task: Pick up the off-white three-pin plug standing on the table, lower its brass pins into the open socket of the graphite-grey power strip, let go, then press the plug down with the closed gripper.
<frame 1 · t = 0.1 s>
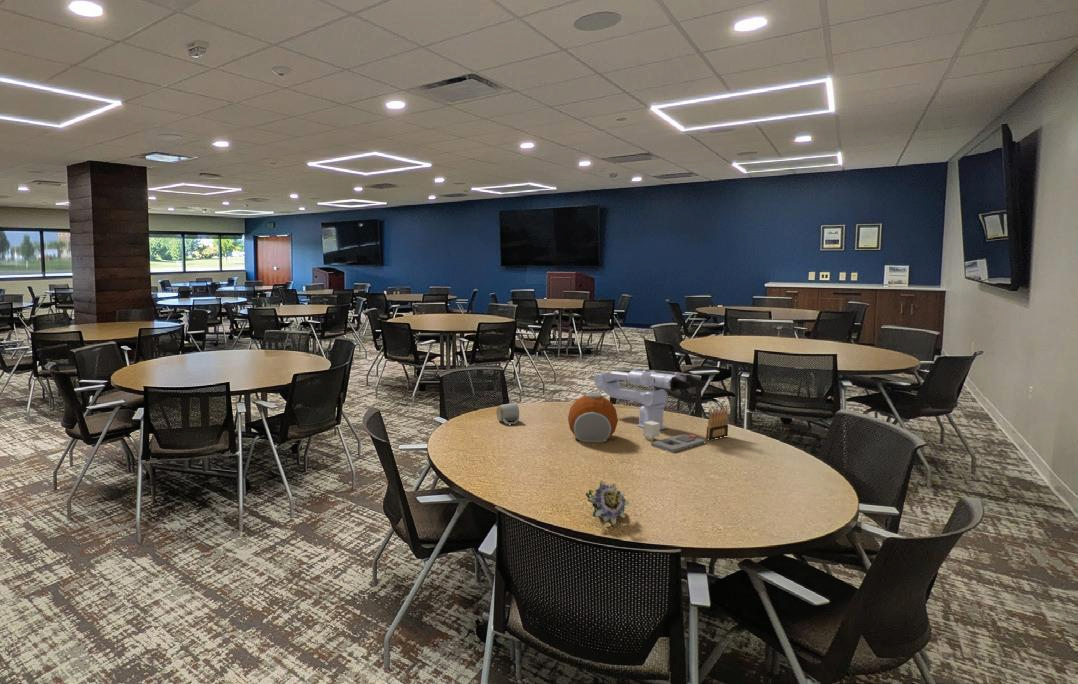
hand: (695, 384, 221), 22 cm above the table, tool horizontal, fingers open, 7 cm apart
socket strip: (678, 444, 217), on the table
alarm clock: (591, 438, 222), on the table
ceramic mug: (509, 422, 241), on the table
ammunition clip: (716, 438, 226), on the table
passion flower: (605, 518, 151), on the table
plug: (650, 439, 222), on the table
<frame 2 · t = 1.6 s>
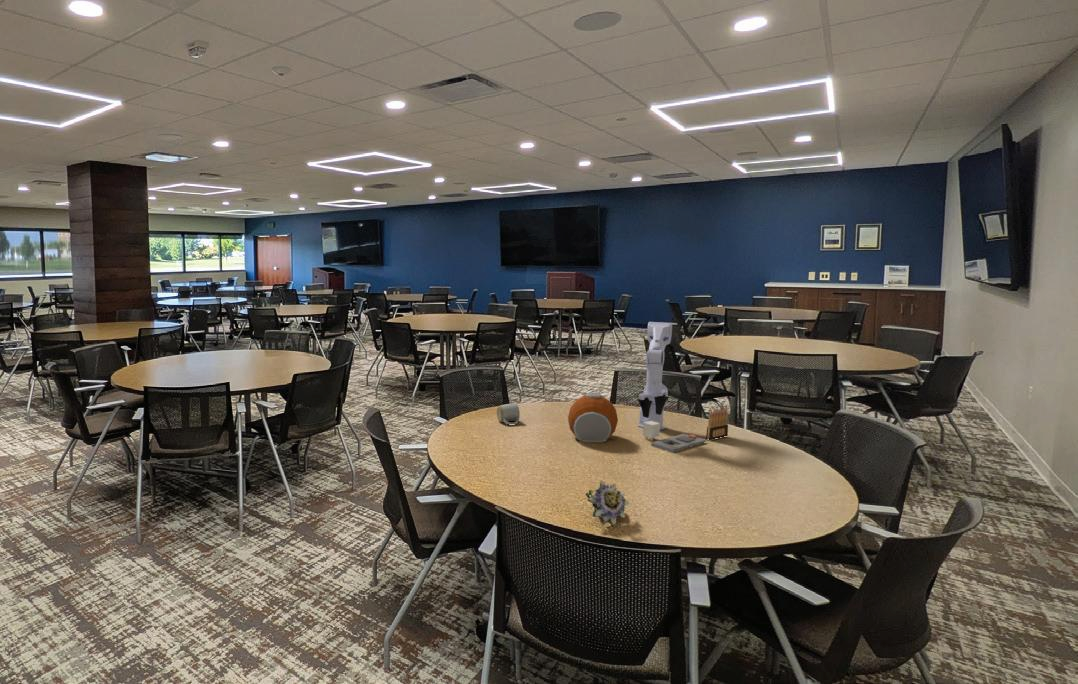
hand: (652, 415, 220), 9 cm above the table, tool pointing down, fingers open, 7 cm apart
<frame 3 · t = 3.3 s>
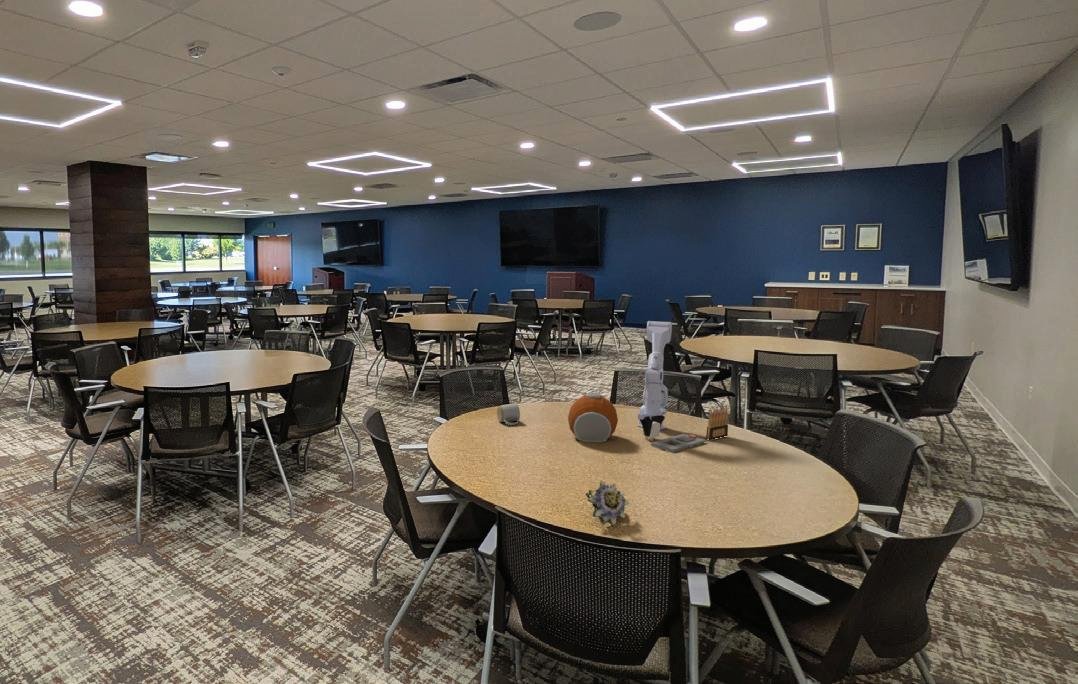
hand: (651, 434, 221), 2 cm above the table, tool pointing down, fingers closed on plug, 4 cm apart
plug: (650, 439, 222), on the table, touching gripper
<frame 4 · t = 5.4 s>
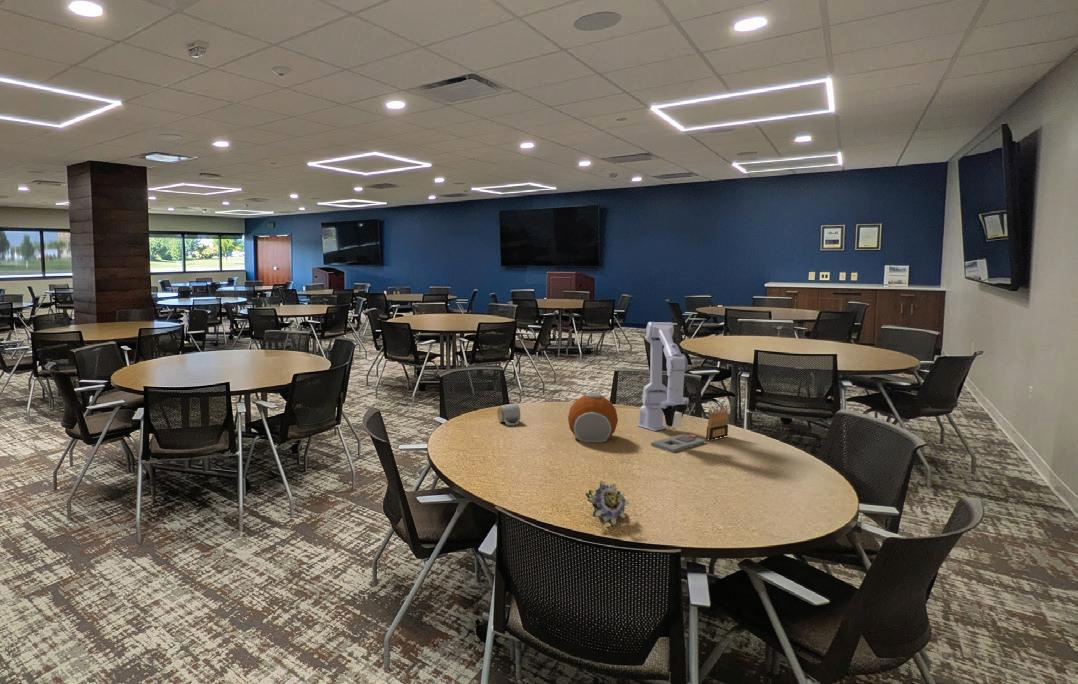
hand: (673, 424, 213), 8 cm above the table, tool pointing down, fingers closed on plug, 4 cm apart
plug: (672, 429, 213), point 6 cm above the table, touching gripper
when the fingers open (3 cm above the table, at t = 7.4 s): plug stays where it is, resting in socket strip.
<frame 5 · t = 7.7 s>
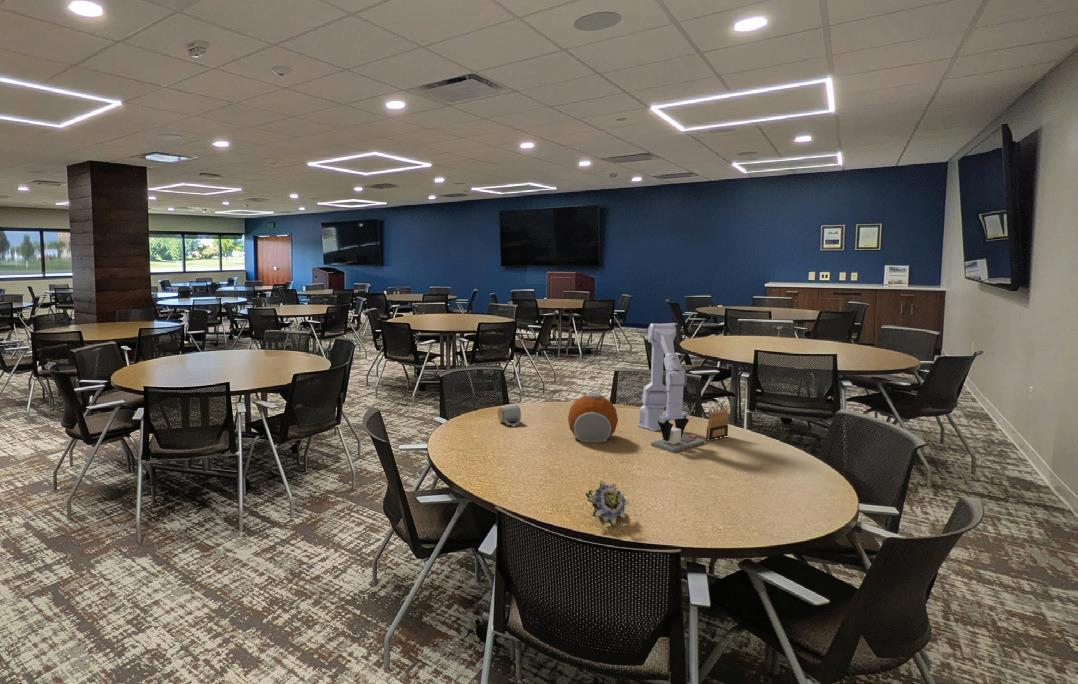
hand: (672, 438, 214), 3 cm above the table, tool pointing down, fingers open, 7 cm apart
plug: (671, 446, 214), resting in socket strip
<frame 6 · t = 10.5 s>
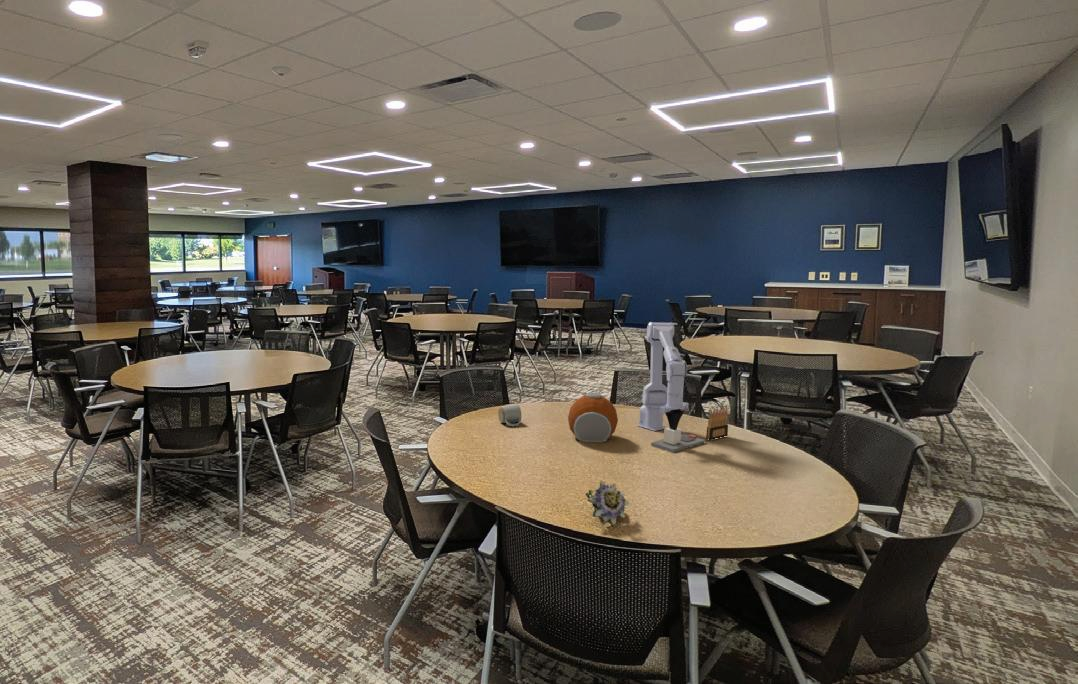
hand: (673, 429, 213), 6 cm above the table, tool pointing down, fingers closed, pressing on plug
plug: (671, 446, 214), resting in socket strip, touching gripper
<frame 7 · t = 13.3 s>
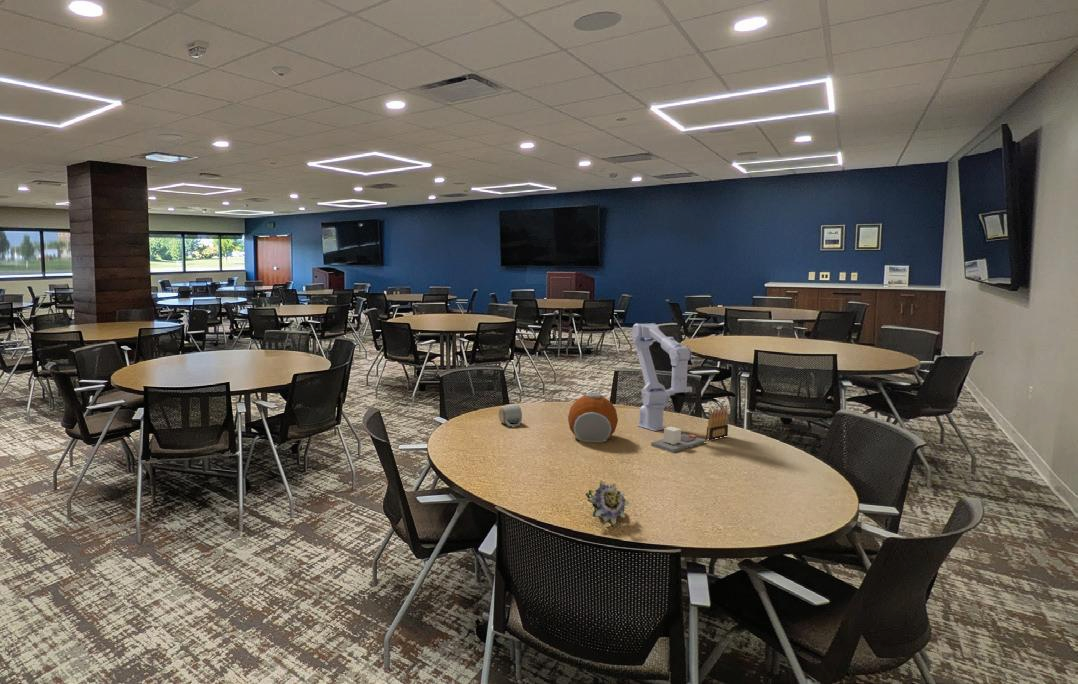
hand: (677, 411, 223), 10 cm above the table, tool pointing down, fingers closed
plug: (671, 446, 214), resting in socket strip
at the end: plug 0.2 cm from the target spot on the socket strip, point 0.0 cm above the socket strip's base; plug tilted 0°; the gripper is holding nothing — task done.
